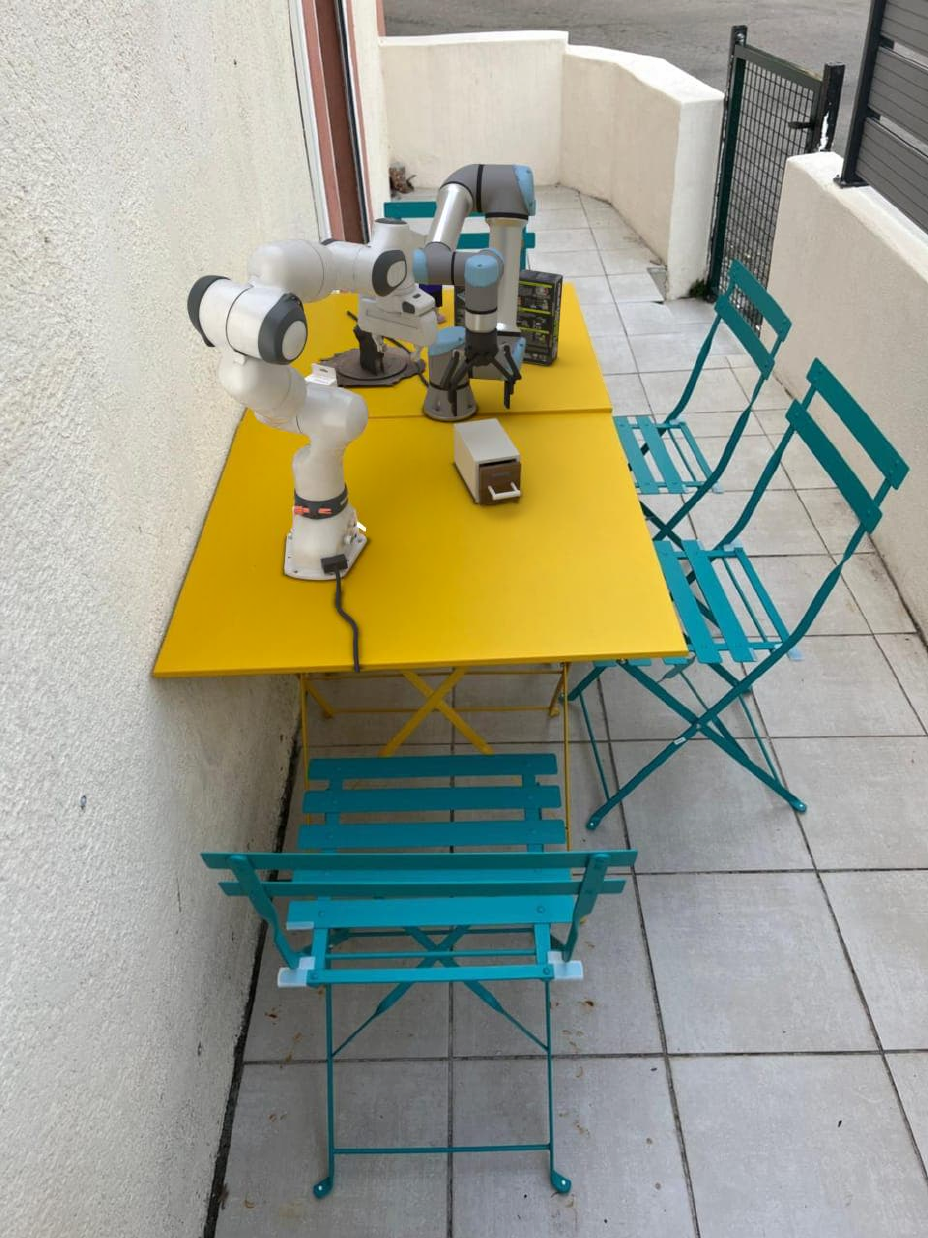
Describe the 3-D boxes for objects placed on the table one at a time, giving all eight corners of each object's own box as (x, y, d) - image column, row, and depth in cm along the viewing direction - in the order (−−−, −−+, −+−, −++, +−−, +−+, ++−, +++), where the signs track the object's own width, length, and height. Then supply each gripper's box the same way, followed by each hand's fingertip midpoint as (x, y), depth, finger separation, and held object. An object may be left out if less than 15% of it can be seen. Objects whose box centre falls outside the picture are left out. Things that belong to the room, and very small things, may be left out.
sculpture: (406, 397, 263) (403, 345, 252) (297, 384, 270) (290, 333, 259) (437, 352, 287) (436, 303, 277) (336, 341, 294) (331, 293, 284)
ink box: (306, 417, 253) (300, 368, 244) (316, 410, 257) (310, 362, 247) (331, 424, 250) (326, 375, 241) (341, 416, 254) (336, 368, 244)
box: (558, 357, 283) (564, 272, 266) (551, 366, 278) (556, 280, 261) (461, 342, 293) (461, 259, 276) (453, 350, 288) (452, 266, 271)
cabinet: (518, 496, 221) (520, 454, 214) (475, 503, 219) (475, 461, 211) (495, 458, 236) (496, 417, 228) (454, 464, 233) (453, 423, 226)
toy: (460, 304, 319) (459, 216, 299) (477, 312, 313) (477, 222, 294) (381, 329, 302) (375, 237, 283) (398, 337, 296) (393, 244, 277)
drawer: (526, 509, 215) (528, 474, 208) (486, 516, 213) (487, 481, 206) (497, 462, 232) (498, 428, 226) (460, 467, 230) (460, 434, 224)
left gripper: (349, 291, 196) (354, 350, 205) (424, 309, 188) (426, 371, 197) (366, 282, 200) (371, 341, 209) (441, 300, 192) (442, 360, 201)
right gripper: (526, 315, 212) (523, 397, 225) (425, 326, 207) (428, 410, 220) (537, 326, 206) (533, 410, 220) (433, 339, 201) (435, 423, 215)
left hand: (398, 356), depth 203 cm, fingers open, 8 cm apart
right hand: (480, 410), depth 220 cm, fingers open, 13 cm apart
